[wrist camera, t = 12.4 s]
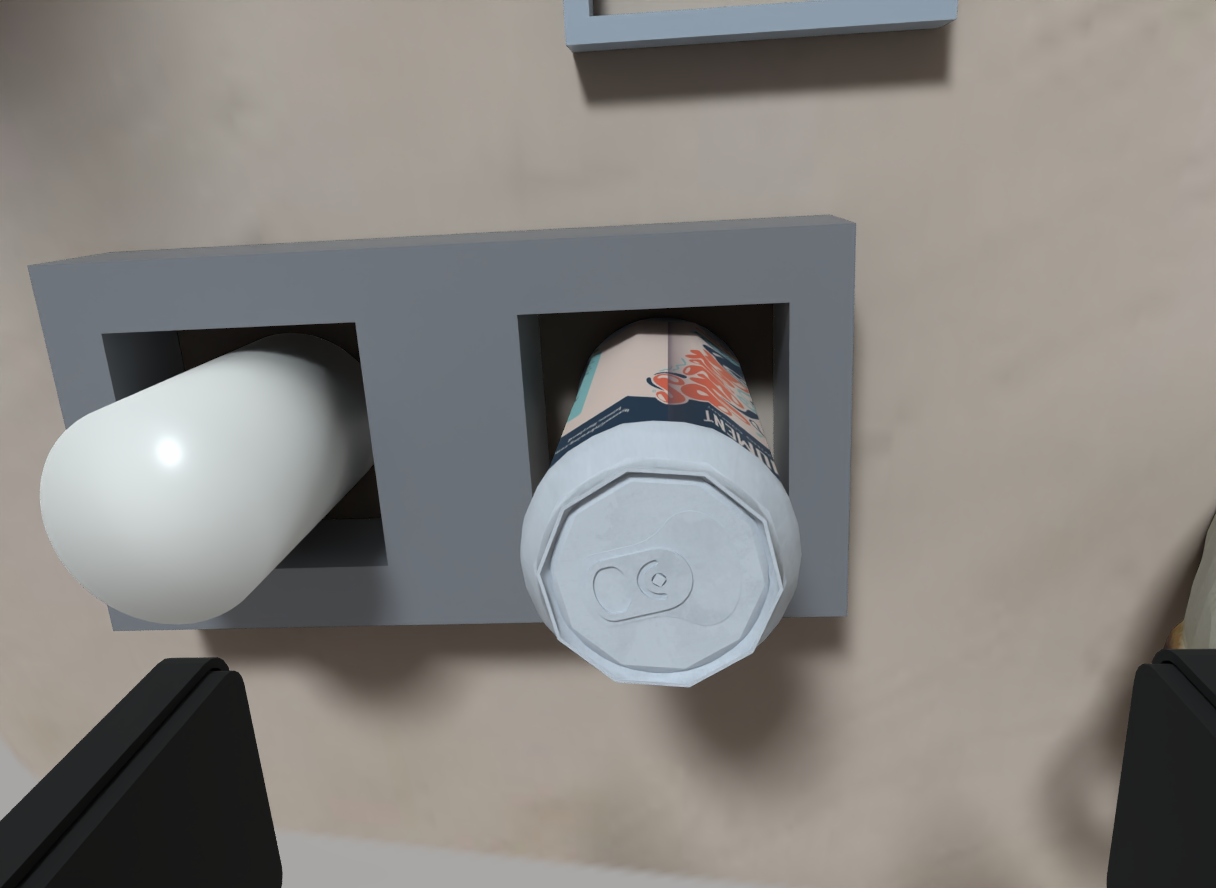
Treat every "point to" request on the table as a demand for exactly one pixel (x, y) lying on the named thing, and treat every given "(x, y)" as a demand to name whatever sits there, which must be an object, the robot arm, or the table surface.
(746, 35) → the hollow square frame
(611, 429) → the beer can
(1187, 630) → the sugar bowl
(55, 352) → the two-slot holder block
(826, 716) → the table surface
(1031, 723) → the table surface
